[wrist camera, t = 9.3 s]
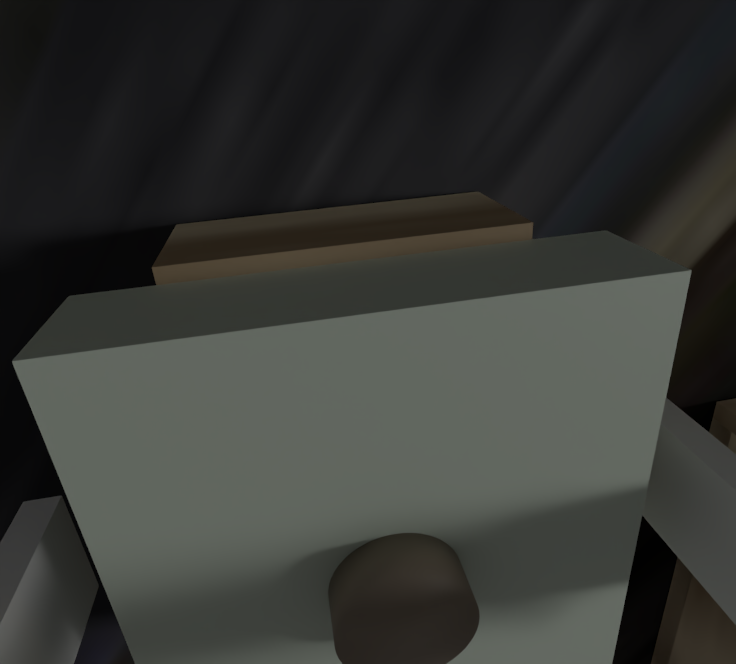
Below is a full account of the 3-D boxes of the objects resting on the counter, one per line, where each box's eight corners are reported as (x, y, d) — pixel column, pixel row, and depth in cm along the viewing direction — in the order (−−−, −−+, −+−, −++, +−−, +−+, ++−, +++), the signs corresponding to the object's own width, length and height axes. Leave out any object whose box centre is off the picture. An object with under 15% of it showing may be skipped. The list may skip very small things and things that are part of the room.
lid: (68, 295, 9) (-24, 401, 6) (605, 230, 11) (741, 293, 8) (202, 694, 14) (185, 858, 11) (557, 618, 16) (627, 749, 13)
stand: (176, 224, 12) (151, 267, 9) (478, 191, 13) (533, 222, 10) (260, 594, 17) (259, 687, 15) (471, 553, 18) (506, 635, 16)
